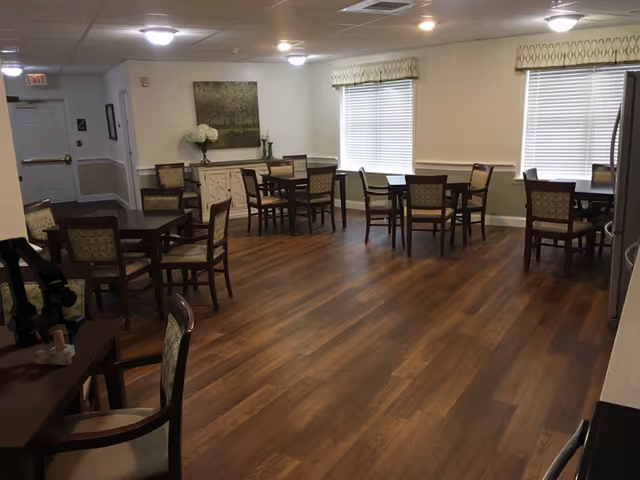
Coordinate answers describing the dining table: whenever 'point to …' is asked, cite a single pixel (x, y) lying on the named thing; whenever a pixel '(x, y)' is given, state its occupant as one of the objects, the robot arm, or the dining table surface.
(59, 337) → the peg
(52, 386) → the dining table surface
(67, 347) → the socket block
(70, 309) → the olive ribbed cylinder
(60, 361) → the backstop
